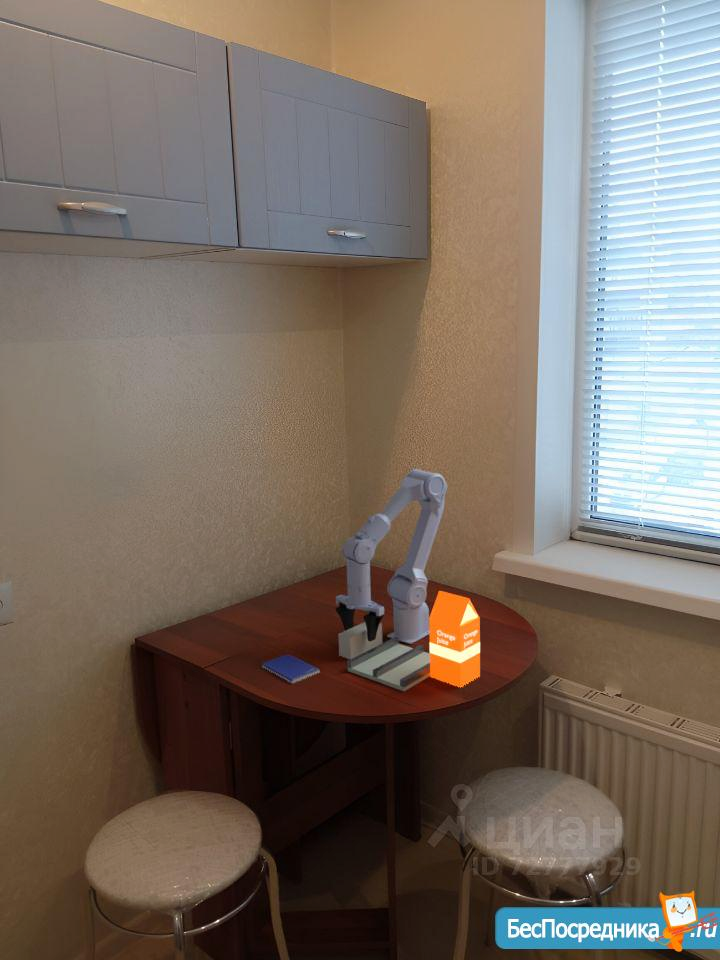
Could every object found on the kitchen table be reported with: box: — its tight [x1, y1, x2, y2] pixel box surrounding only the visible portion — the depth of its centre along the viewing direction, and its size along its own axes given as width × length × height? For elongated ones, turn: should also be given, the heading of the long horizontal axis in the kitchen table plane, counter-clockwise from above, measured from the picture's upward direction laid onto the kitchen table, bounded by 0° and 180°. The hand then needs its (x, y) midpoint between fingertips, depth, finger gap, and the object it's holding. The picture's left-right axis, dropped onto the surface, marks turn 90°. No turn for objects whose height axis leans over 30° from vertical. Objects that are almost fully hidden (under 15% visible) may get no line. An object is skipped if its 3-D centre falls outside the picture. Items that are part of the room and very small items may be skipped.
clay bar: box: [337, 621, 383, 660], centre depth 191 cm, size 12×4×6 cm, turn 138°
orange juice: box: [429, 590, 481, 689], centre depth 173 cm, size 8×9×20 cm
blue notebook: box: [261, 653, 321, 684], centre depth 181 cm, size 2×8×12 cm
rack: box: [346, 637, 430, 692], centre depth 181 cm, size 18×17×2 cm
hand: (360, 636), depth 191 cm, fingers open, 7 cm apart
